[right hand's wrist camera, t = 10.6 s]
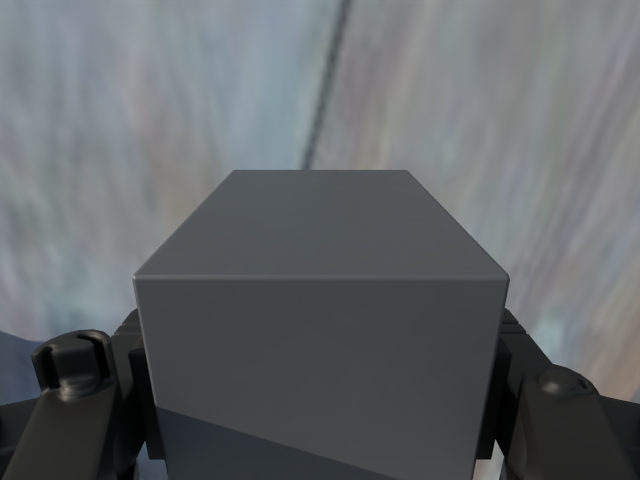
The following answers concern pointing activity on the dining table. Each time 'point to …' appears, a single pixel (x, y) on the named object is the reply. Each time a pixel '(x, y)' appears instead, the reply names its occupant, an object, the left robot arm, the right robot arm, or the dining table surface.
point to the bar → (320, 331)
